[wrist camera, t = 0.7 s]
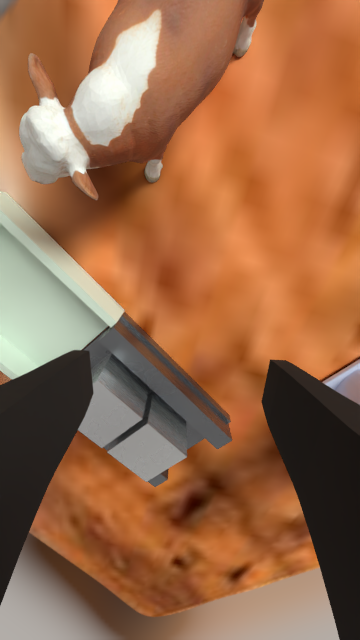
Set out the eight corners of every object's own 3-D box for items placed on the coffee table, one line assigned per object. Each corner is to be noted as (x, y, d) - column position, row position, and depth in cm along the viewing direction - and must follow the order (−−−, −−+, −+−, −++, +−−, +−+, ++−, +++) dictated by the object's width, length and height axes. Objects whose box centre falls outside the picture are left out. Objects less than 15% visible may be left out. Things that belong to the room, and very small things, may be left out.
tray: (124, 310, 19) (116, 322, 16) (49, 377, 21) (33, 395, 19) (6, 192, 16) (-23, 187, 14) (-66, 285, 18) (-102, 293, 16)
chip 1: (150, 382, 20) (142, 419, 16) (116, 408, 21) (101, 448, 17) (114, 349, 19) (97, 380, 15) (80, 378, 20) (56, 413, 16)
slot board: (229, 415, 22) (234, 438, 20) (156, 462, 24) (153, 488, 22) (124, 312, 19) (116, 325, 16) (51, 377, 21) (33, 397, 19)
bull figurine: (66, 178, 16) (-45, 136, 8) (226, -50, 12) (300, -529, 4) (120, 230, 17) (67, 235, 9) (281, 34, 13) (419, -229, 5)
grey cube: (186, 415, 21) (186, 456, 18) (152, 438, 22) (146, 482, 19) (154, 386, 20) (147, 423, 16) (120, 411, 21) (106, 452, 17)
